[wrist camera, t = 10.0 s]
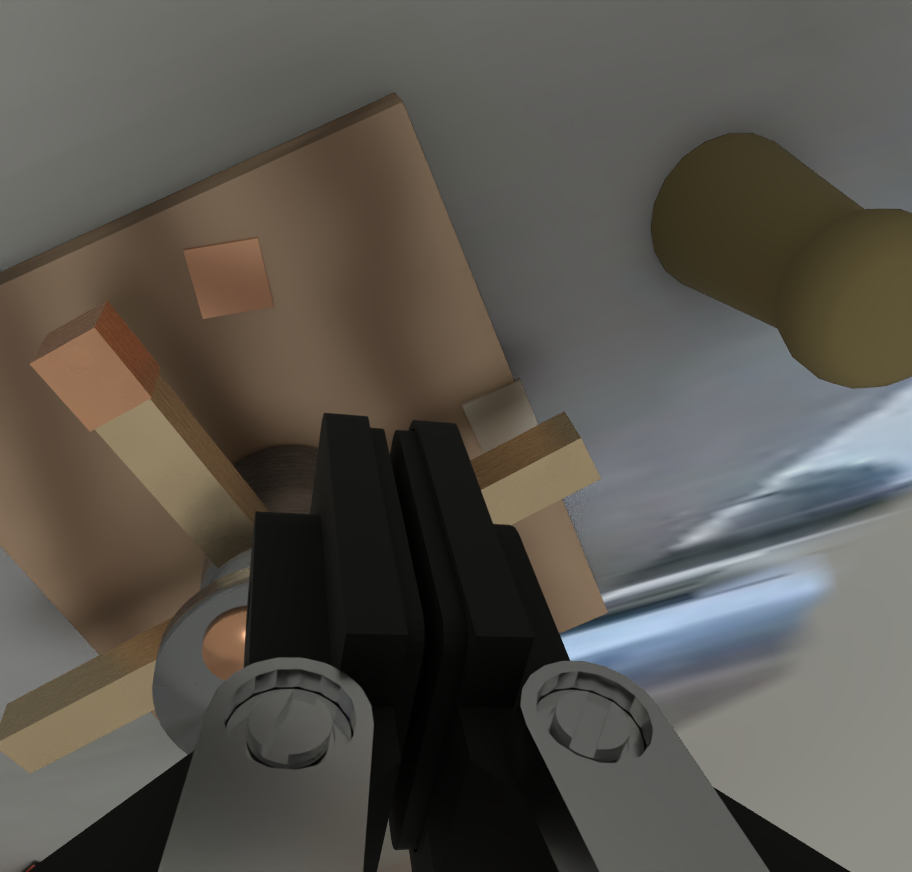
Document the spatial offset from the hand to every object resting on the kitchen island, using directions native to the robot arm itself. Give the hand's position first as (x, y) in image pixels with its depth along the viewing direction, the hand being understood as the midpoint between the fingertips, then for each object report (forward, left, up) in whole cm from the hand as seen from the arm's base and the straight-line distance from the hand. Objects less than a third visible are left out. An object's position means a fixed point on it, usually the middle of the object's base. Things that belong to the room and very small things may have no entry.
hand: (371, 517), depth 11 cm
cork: (-14, +8, -21) cm, 26 cm away
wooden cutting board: (+6, +11, -21) cm, 25 cm away
